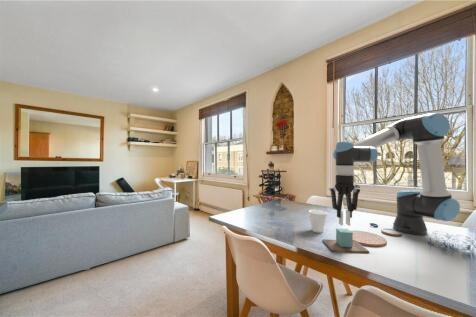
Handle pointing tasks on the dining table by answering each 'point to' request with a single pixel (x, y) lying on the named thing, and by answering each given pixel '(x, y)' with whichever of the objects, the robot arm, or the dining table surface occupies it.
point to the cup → (317, 220)
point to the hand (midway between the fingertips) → (344, 224)
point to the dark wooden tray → (337, 248)
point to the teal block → (344, 237)
